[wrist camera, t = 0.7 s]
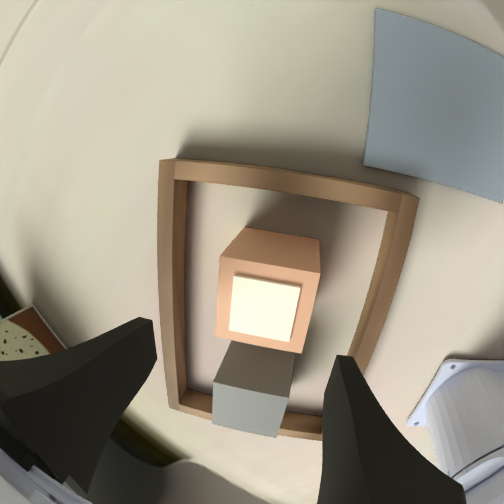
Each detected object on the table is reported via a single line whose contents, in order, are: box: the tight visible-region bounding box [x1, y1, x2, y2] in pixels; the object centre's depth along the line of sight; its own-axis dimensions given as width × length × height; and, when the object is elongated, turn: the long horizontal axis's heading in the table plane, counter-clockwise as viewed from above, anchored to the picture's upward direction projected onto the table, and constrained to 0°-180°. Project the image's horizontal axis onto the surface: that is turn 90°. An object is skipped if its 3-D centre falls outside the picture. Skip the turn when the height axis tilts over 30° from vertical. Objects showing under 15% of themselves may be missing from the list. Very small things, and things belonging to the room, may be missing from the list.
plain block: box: [212, 340, 295, 438], centre depth 19 cm, size 4×4×5 cm
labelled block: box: [215, 227, 321, 353], centre depth 16 cm, size 4×4×5 cm
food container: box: [0, 304, 68, 361], centre depth 23 cm, size 12×6×10 cm, turn 39°
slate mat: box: [363, 8, 504, 204], centre depth 12 cm, size 10×10×1 cm
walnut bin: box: [157, 158, 419, 441], centre depth 19 cm, size 14×20×2 cm
